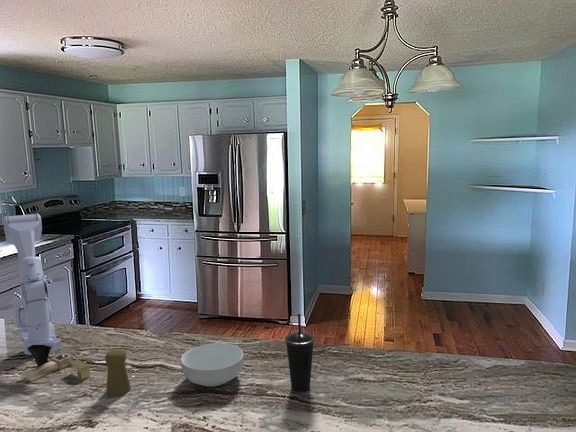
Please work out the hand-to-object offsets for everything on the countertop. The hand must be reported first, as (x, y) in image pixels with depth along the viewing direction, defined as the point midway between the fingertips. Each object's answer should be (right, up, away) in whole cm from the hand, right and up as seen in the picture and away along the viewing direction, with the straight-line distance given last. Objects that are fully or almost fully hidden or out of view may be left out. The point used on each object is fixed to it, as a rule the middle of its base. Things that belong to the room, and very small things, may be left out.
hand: (43, 367), depth 126 cm
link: (+2, -1, 0) cm, 2 cm away
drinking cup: (+73, -2, -10) cm, 74 cm away
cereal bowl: (+49, -2, -5) cm, 50 cm away
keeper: (+12, -2, -3) cm, 12 cm away
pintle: (+4, -1, +3) cm, 5 cm away
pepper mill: (+25, -3, -9) cm, 27 cm away
